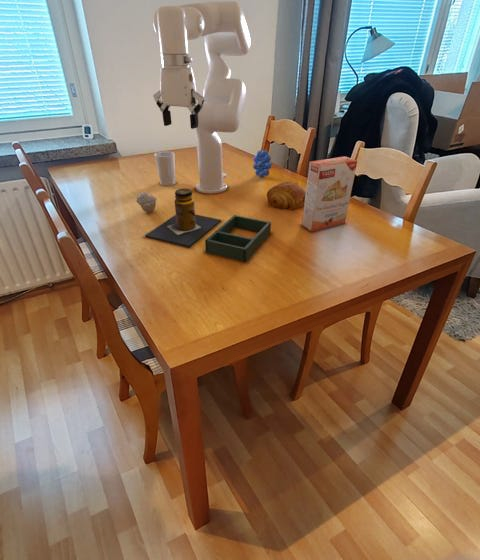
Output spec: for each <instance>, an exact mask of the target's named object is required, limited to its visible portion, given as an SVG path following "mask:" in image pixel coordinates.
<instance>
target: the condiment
mask: <svg viewBox="0 0 480 560" xmlns="http://www.w3.org/2000/svg"><path fill="white" fill-rule="evenodd" d="M174 195H175V196H174V198H175V199H174V210H175V215H176V220H177V223H176V224H173V225H169V226H167V227H168V228H170V229H171V230H172V231H173V232H175V233H176V234H178V235H179V234H182V233H186V232H189V231H193V230H196V229H199V228H201V227H200V226H198V225H197V224H196V218H195V215H196V205H195V199H194V196H193V191H192V190H191V189H190V188H179V189H176V190H175V191H174Z"/></svg>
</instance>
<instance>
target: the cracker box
mask: <svg viewBox="0 0 480 560" xmlns="http://www.w3.org/2000/svg"><path fill="white" fill-rule="evenodd" d="M357 166H358V161H357V160H356V159H354V158H351V157H348V156H338V157H333V158H327V159H319V160H312V161H309V164H308V171H307V179H306V188H305V191H306V195H305V203H304V204H303V213H302V219H301V226H303V227H304V228H306V229H307V230H308V231H310V232H316V231H320V230H324V229H327V228H328V229H329V228H331V227H332V228H333V227H335V226H340V225H344V224H345V223H346V220H347V215H348V209H349V205H350V200H351V196H352V195H351V194H352V190H353V185H354V182H355V181H354V179H355V176H356V175H355V174H356V170H357Z"/></svg>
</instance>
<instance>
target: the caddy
mask: <svg viewBox="0 0 480 560" xmlns="http://www.w3.org/2000/svg"><path fill="white" fill-rule="evenodd" d="M271 227H272V222H271V221H267V220H261V219H256V218H251V217H246V216H241V215H237V214H234V215H232V216H231V217H230V218H229V219H228V220H227V221H225V222H224V223H223V224H222V225H221V226H220V227H218V228H217V229H216V230H215V231H214V232H213V233H211V234H210V235H209V236H208V237H207V238H206V239H205V240H204V245H205V253H207V254H210V255H214V256H217V257H218V256H219V257H223V258H227V259H231V260H235V261H238V262H239V261H240V262H244V263H247V261H248V260H249V259H250V258H251V257H252V256H253V254H254V253H255V252H256V251H257V250H258V249H259V247H260V246H261V245H262V244H263V243H264V241H265V240H267V239H268V237H269V236H270V235H271V229H272V228H271ZM235 228H237V229H240V230H246V231H250V232H255V233H256V234H255V236H253V238H251V237H247V236H244V235H243V236H242V235H238V234H233V233H232V232H233V231H234V230H235Z"/></svg>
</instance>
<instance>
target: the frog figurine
mask: <svg viewBox="0 0 480 560" xmlns="http://www.w3.org/2000/svg"><path fill="white" fill-rule="evenodd" d="M135 200H136V203H137V204H138V205H139V206H140V208H141V210H142V211H143V212H144V213H151V212H153V211H155V208H156V205H157V198H156V197H155V196H153V195H152V194H149V193H147V192H140V193H138V195H137V196H136V197H135Z"/></svg>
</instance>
